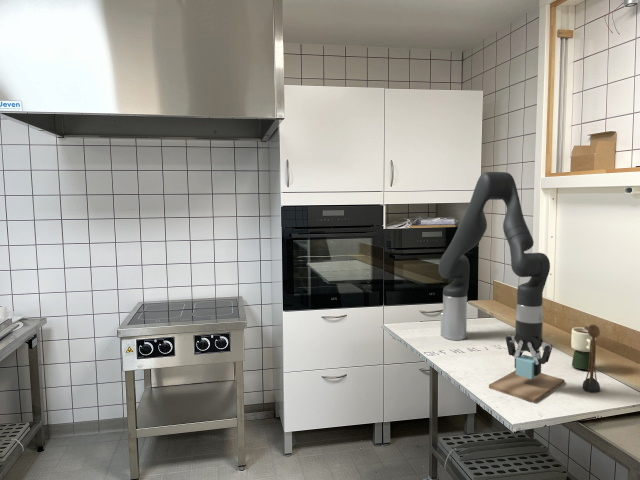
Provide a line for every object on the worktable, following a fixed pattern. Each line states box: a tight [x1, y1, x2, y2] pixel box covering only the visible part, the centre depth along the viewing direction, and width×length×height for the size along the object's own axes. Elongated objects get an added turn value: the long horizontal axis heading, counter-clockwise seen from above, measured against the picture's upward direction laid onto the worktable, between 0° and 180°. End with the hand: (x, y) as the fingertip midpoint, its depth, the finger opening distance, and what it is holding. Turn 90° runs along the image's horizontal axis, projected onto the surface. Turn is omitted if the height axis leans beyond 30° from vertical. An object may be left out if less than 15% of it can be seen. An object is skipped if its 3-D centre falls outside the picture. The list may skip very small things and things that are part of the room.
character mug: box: [570, 326, 597, 371], centre depth 162 cm, size 11×7×13 cm, turn 174°
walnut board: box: [488, 369, 566, 404], centre depth 150 cm, size 14×20×1 cm
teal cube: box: [515, 354, 536, 379], centre depth 149 cm, size 5×5×5 cm
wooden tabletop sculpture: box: [581, 323, 601, 394], centre depth 145 cm, size 6×5×20 cm
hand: (527, 372), depth 150 cm, fingers closed on teal cube, 5 cm apart
